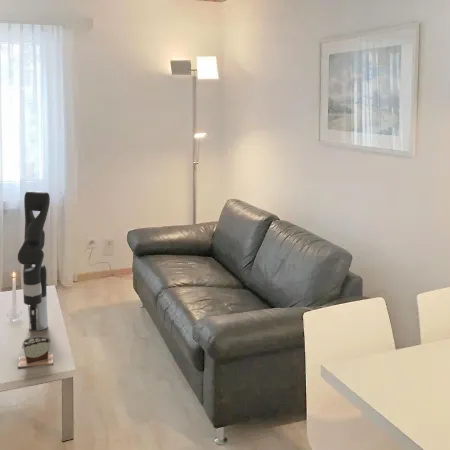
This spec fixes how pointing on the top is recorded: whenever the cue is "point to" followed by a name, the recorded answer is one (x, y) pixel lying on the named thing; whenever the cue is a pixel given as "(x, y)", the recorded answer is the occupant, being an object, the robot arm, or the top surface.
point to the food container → (36, 349)
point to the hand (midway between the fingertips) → (34, 326)
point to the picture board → (23, 363)
